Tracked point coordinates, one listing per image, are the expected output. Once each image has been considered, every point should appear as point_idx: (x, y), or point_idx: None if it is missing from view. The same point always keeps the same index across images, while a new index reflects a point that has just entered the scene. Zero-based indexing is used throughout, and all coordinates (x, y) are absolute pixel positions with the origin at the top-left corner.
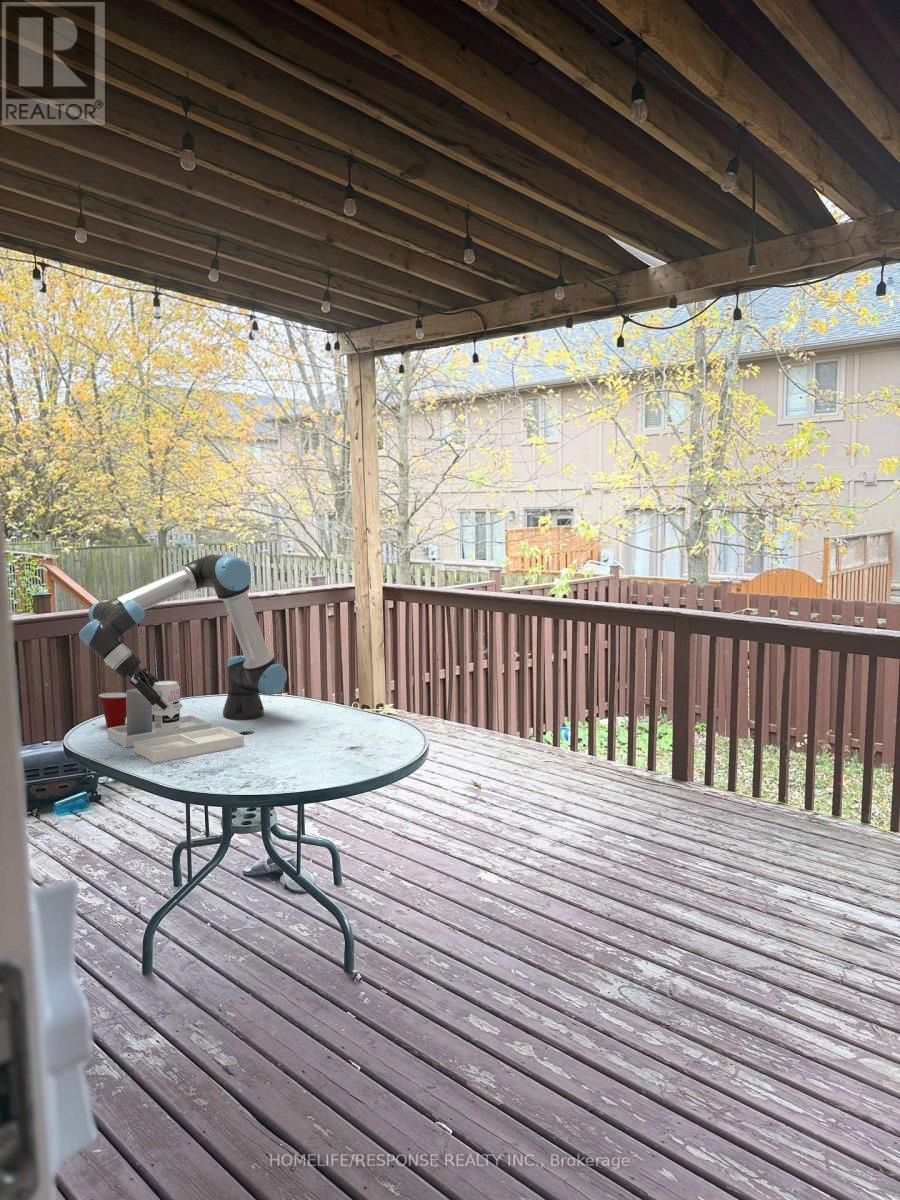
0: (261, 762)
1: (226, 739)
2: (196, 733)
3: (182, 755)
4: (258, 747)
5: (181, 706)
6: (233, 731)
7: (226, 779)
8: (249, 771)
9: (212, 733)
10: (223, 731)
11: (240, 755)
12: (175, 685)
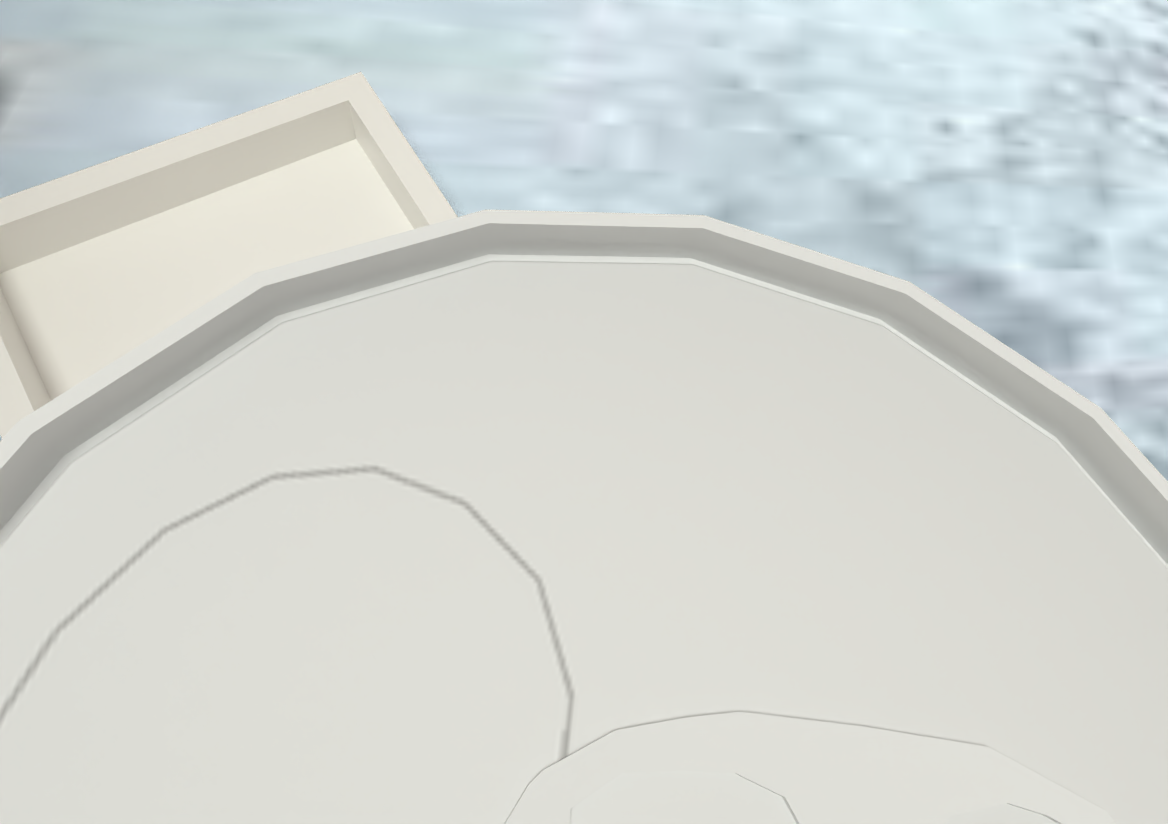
0: (805, 68)
1: (444, 199)
2: None
3: None
4: (438, 55)
5: None
6: (182, 135)
7: (1152, 258)
8: (988, 138)
9: (17, 336)
10: (48, 229)
11: (633, 168)
12: (896, 335)
